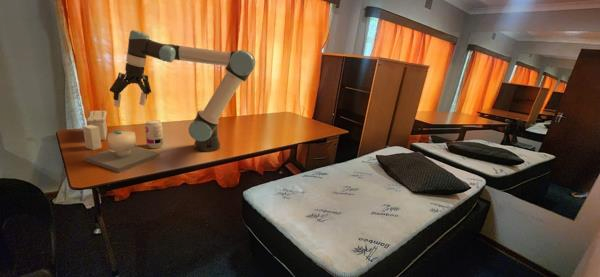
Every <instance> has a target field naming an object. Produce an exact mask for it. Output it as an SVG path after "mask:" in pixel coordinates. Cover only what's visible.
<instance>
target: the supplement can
mask: <svg viewBox="0 0 600 277" xmlns="http://www.w3.org/2000/svg"><path fill="white" fill-rule="evenodd" d="M144 124H145V126H144V128H145V138H146V139H145V140H146V141H145V142H146V146H147V147H148V148H149V149H159V148H162V146H163V145H164V136H163V123H162V121H161V120H158V119H150V120H146V122H145V123H144Z"/></svg>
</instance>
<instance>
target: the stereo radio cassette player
mask: <svg viewBox="0 0 600 277" xmlns="http://www.w3.org/2000/svg"><path fill="white" fill-rule="evenodd" d="M99 108H100V110H90V111H89V113H88V116H87V119H86V126H87V125H94V126H97V127H99V132H100V138H101V141H106V140H107V135H108V126H107V110H103V109H102V107H101V106H99Z"/></svg>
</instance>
